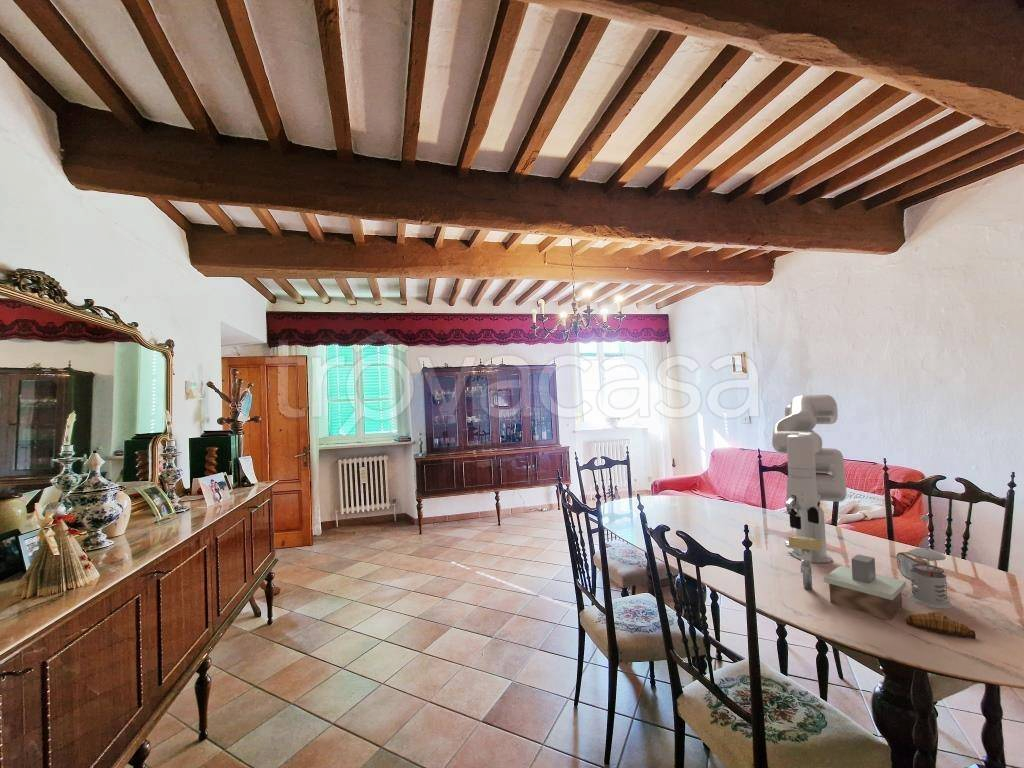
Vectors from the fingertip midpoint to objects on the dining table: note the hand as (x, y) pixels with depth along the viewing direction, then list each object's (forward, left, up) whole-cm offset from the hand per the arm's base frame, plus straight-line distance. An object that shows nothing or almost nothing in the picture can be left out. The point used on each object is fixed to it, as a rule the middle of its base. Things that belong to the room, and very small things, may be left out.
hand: (804, 525), depth 144 cm
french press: (+26, +17, -20) cm, 37 cm away
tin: (+20, +31, -20) cm, 42 cm away
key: (+1, -4, -20) cm, 20 cm away
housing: (+15, -1, -20) cm, 25 cm away
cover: (+15, -1, -14) cm, 21 cm away
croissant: (+32, -4, -21) cm, 38 cm away
